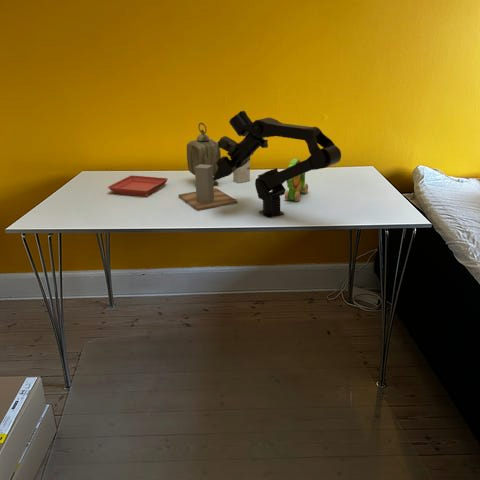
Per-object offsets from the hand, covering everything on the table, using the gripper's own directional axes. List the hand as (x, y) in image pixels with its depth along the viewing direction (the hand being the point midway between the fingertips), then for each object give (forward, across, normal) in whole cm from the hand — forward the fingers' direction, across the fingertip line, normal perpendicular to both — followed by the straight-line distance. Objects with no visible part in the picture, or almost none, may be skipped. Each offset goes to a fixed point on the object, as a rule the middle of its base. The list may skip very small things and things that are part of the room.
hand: (219, 175), depth 170 cm
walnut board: (+13, -4, +3) cm, 14 cm away
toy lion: (-9, -17, +25) cm, 31 cm away
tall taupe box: (+11, 0, +3) cm, 12 cm away
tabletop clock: (+20, -23, -4) cm, 30 cm away
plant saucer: (+36, -8, -20) cm, 42 cm away
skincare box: (+10, -31, +5) cm, 33 cm away
